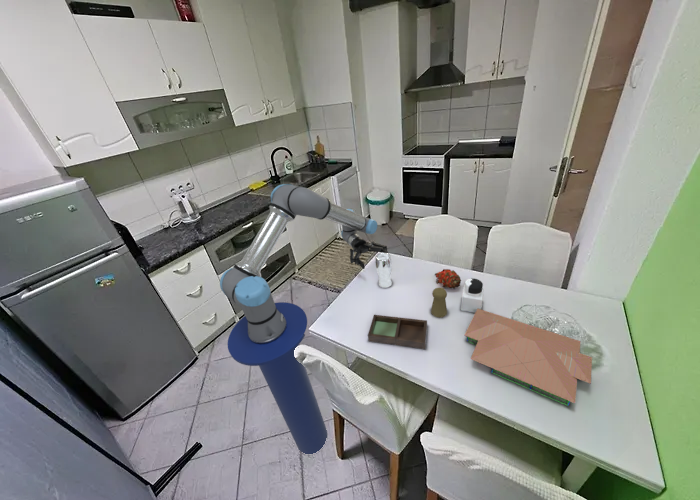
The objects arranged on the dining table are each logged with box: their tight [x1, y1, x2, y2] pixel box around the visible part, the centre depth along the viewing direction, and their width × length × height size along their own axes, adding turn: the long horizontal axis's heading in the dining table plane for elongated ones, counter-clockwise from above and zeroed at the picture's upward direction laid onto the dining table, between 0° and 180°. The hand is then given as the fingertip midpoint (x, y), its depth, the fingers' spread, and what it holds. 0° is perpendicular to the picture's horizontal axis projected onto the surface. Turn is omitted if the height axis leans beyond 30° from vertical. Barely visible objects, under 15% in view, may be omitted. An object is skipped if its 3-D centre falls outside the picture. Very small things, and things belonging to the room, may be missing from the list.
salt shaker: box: [430, 286, 448, 319], centre depth 105 cm, size 6×6×11 cm
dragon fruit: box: [434, 268, 462, 289], centre depth 119 cm, size 8×8×12 cm
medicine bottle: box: [460, 277, 485, 314], centre depth 105 cm, size 7×7×12 cm
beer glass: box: [375, 252, 393, 289], centre depth 124 cm, size 7×7×15 cm
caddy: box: [367, 314, 428, 350], centre depth 101 cm, size 20×10×3 cm, turn 73°
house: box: [464, 308, 593, 407], centre depth 85 cm, size 23×33×8 cm
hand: (376, 261), depth 129 cm, fingers open, 13 cm apart
